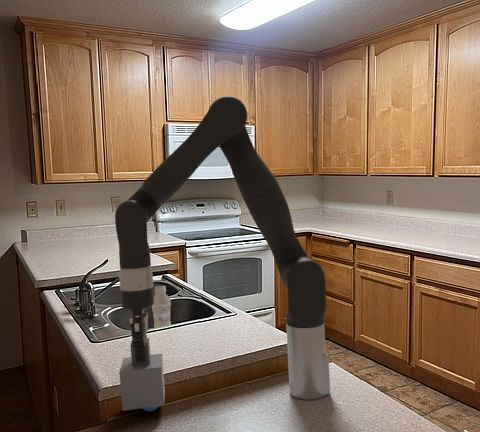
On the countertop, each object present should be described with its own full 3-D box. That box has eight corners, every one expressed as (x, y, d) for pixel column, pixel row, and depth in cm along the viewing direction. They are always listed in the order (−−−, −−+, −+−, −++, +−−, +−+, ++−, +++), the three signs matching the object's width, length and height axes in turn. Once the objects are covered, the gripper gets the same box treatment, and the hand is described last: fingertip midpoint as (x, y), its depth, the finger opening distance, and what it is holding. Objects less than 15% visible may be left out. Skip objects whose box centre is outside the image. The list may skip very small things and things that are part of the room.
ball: (153, 381, 111) (135, 392, 111) (152, 389, 106) (134, 402, 106) (164, 397, 112) (147, 409, 111) (164, 407, 107) (145, 419, 106)
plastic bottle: (170, 348, 152) (166, 288, 151) (150, 348, 154) (146, 288, 153) (176, 342, 159) (173, 284, 158) (158, 342, 160) (154, 284, 159)
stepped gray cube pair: (164, 388, 114) (160, 333, 113) (164, 405, 105) (159, 345, 104) (126, 393, 112) (121, 337, 112) (122, 410, 103) (117, 350, 103)
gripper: (151, 290, 101) (156, 368, 102) (154, 279, 115) (158, 347, 116) (116, 293, 100) (121, 371, 100) (123, 281, 114) (127, 350, 115)
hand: (141, 358), depth 108 cm, fingers closed on stepped gray cube pair, 4 cm apart
